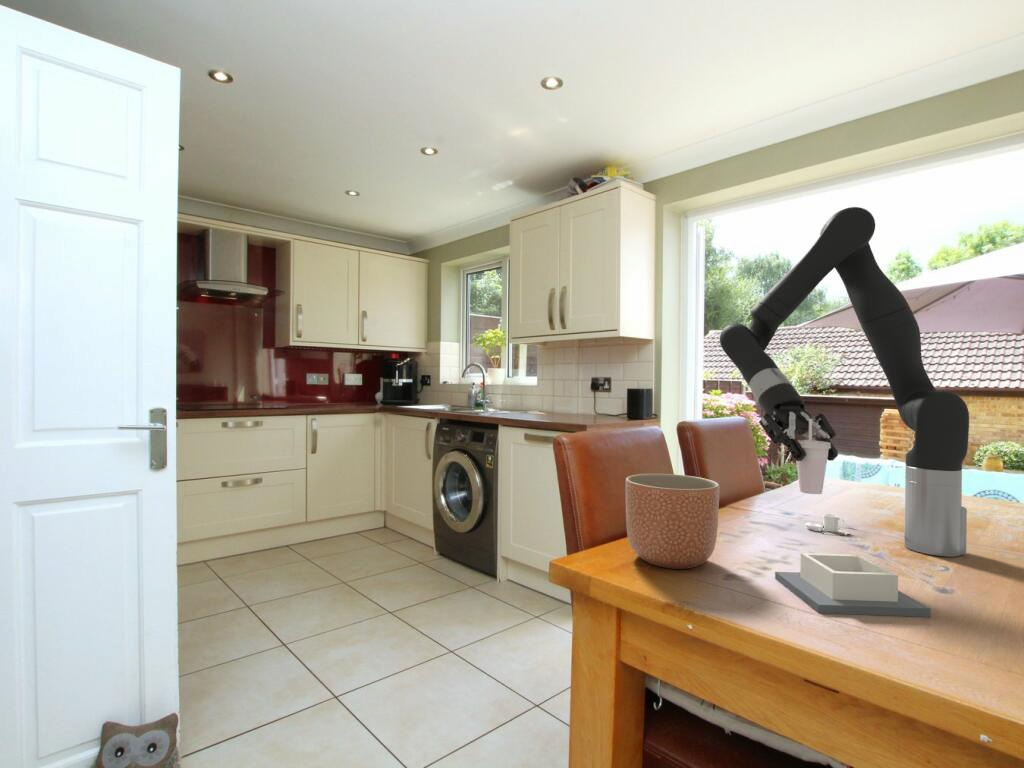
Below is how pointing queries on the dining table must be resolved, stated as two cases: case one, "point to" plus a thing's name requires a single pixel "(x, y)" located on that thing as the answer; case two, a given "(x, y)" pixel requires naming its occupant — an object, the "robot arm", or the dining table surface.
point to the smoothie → (812, 464)
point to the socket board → (849, 586)
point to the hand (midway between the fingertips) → (818, 458)
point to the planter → (672, 518)
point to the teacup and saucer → (826, 523)
